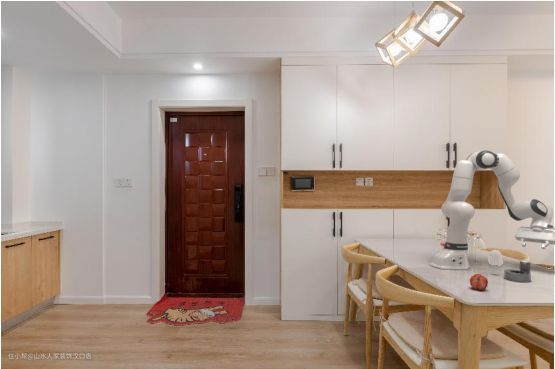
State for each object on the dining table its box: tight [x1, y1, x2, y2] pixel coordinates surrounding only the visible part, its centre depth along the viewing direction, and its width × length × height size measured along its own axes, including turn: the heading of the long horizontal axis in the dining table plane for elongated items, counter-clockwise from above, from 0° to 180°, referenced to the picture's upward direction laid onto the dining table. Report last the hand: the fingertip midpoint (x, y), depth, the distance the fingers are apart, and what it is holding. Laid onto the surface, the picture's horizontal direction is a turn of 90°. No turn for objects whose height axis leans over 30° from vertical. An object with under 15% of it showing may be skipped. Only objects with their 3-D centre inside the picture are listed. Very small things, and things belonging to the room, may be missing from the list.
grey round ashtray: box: [503, 268, 532, 284], centre depth 188 cm, size 11×11×4 cm
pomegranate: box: [469, 273, 489, 291], centre depth 170 cm, size 7×7×10 cm
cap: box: [519, 260, 531, 273], centre depth 195 cm, size 4×4×8 cm
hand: (533, 247), depth 202 cm, fingers open, 8 cm apart
